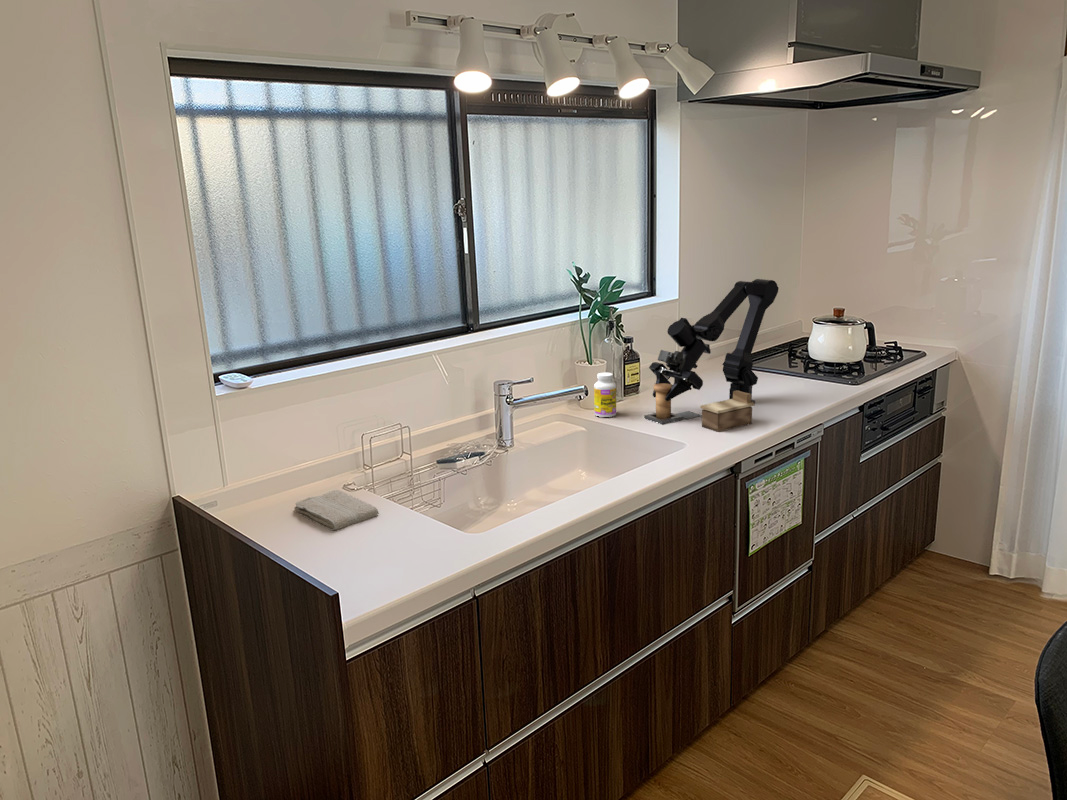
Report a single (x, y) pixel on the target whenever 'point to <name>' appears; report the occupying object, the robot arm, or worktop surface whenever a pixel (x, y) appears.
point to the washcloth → (335, 509)
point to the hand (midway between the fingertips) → (659, 398)
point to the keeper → (673, 418)
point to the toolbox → (726, 419)
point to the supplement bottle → (605, 395)
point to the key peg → (662, 400)
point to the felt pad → (689, 415)
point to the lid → (730, 403)
